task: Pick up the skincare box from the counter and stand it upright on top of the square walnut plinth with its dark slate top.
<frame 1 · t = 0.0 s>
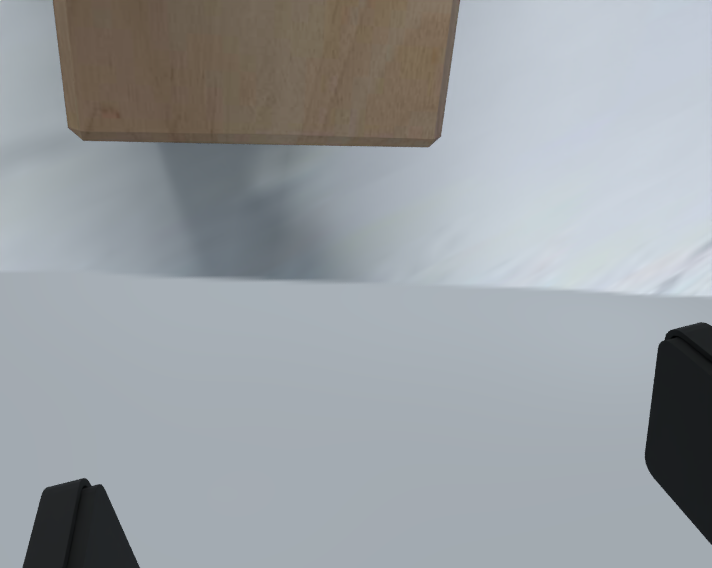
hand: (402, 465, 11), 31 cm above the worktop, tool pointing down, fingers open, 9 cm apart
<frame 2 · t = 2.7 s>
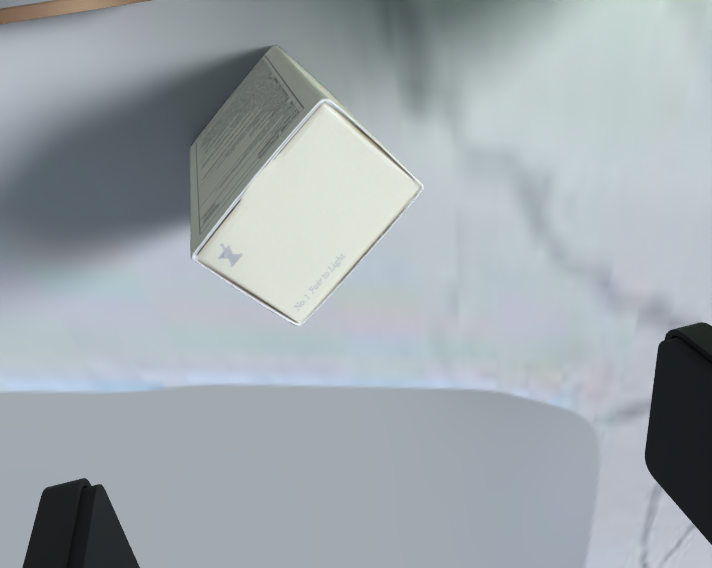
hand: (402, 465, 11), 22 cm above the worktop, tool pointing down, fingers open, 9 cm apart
skincare box: (266, 122, 30), on the worktop
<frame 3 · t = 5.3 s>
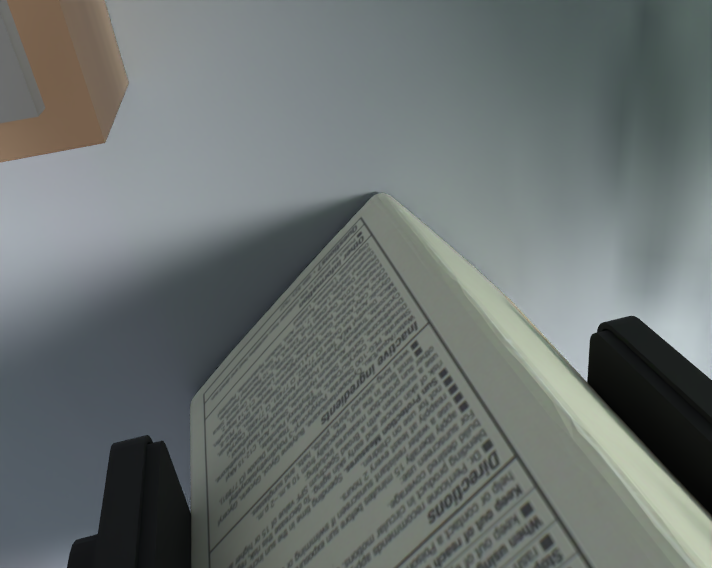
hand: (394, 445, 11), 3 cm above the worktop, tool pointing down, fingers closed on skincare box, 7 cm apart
skincare box: (350, 335, 14), on the worktop, touching gripper
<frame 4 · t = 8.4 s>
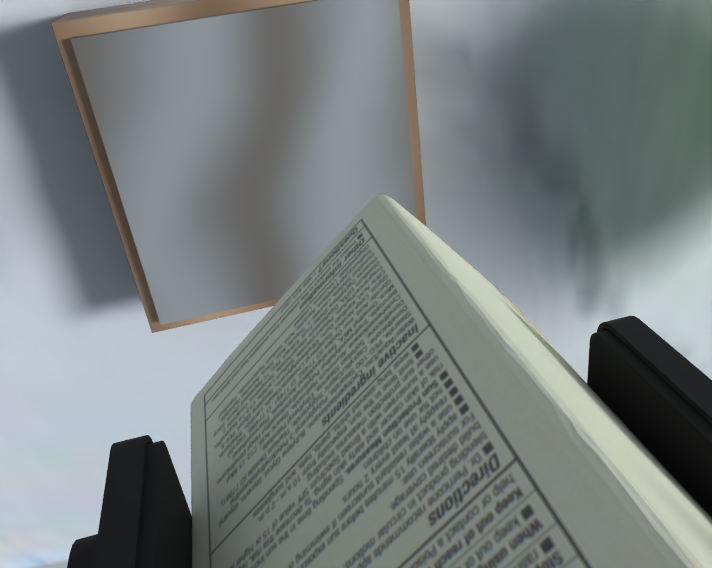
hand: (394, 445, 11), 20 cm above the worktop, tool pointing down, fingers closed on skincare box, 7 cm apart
plinth: (259, 141, 28), on the worktop
skincare box: (350, 337, 14), point 16 cm above the worktop, touching gripper
when the fingers open (9 cm above the worktop, at t = 11.5 s): skincare box drops 1 cm, resting on plinth.
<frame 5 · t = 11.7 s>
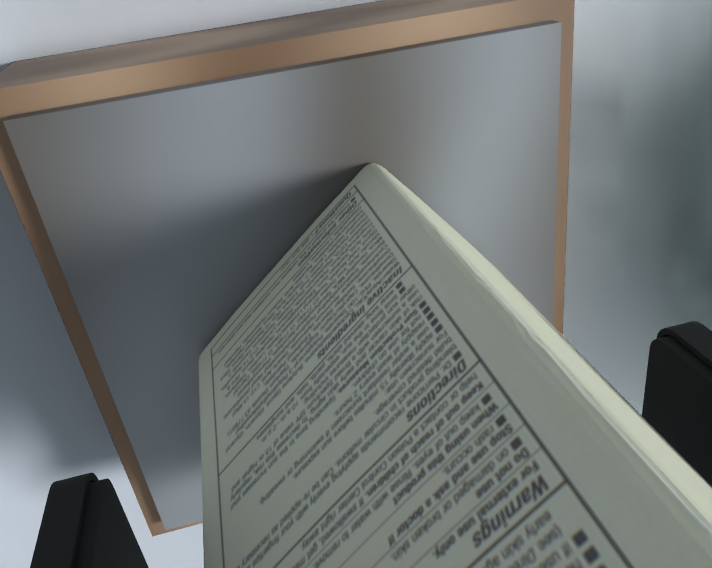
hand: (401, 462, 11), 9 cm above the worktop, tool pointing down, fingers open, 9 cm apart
plinth: (310, 240, 19), on the worktop
skincare box: (345, 298, 15), point 4 cm above the worktop, touching plinth
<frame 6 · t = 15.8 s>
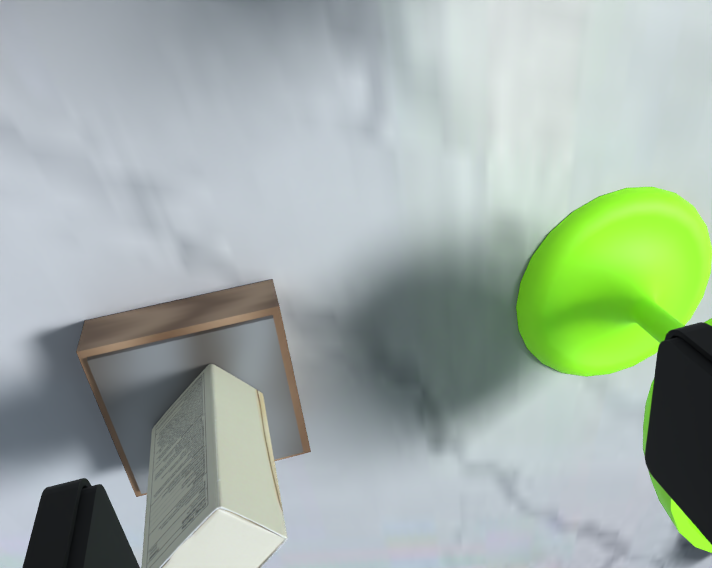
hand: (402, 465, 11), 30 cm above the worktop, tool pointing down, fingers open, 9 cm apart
plinth: (202, 373, 45), on the worktop
wineglass: (613, 286, 50), on the worktop
skincare box: (207, 406, 41), point 4 cm above the worktop, touching plinth
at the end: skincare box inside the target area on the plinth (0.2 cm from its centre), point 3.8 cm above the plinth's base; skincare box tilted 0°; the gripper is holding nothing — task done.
